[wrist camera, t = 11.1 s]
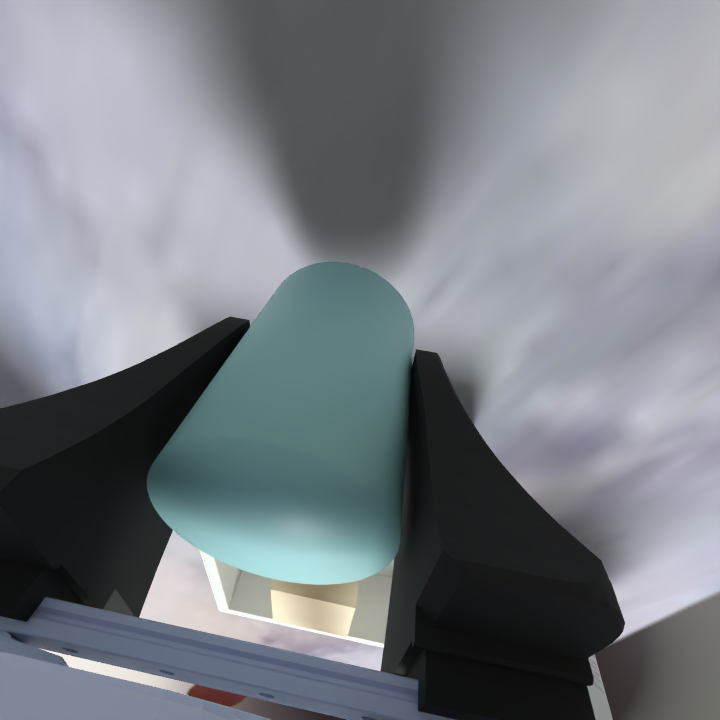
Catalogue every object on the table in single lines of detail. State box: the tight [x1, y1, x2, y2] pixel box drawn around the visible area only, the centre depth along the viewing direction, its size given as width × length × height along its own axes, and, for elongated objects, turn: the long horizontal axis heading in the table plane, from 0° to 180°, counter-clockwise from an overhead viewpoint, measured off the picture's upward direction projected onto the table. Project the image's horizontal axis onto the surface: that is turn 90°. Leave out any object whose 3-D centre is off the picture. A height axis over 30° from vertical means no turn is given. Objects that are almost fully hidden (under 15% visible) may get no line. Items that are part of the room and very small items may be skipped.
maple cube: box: [271, 579, 359, 637], centre depth 25 cm, size 5×5×5 cm
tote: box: [199, 550, 394, 648], centre depth 24 cm, size 14×18×5 cm
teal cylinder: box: [147, 262, 414, 585], centre depth 10 cm, size 5×5×7 cm
